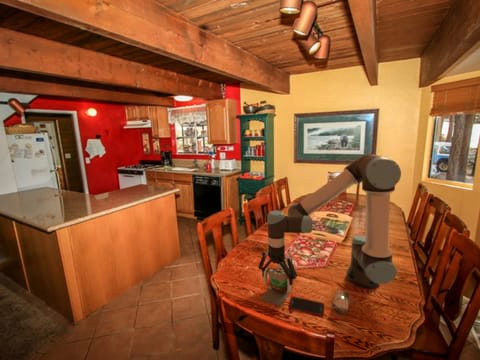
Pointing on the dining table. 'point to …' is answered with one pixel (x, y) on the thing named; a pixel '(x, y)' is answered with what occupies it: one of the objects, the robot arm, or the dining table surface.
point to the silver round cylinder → (341, 302)
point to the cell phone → (307, 306)
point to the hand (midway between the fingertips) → (277, 286)
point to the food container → (278, 279)
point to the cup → (287, 265)
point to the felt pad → (275, 296)
